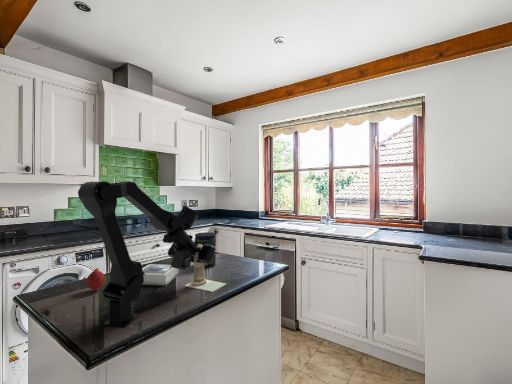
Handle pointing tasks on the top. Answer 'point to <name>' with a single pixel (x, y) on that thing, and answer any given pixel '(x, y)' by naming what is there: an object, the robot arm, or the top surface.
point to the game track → (208, 286)
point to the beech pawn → (198, 271)
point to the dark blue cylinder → (207, 240)
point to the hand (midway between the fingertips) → (201, 263)
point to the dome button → (157, 269)
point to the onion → (95, 280)
